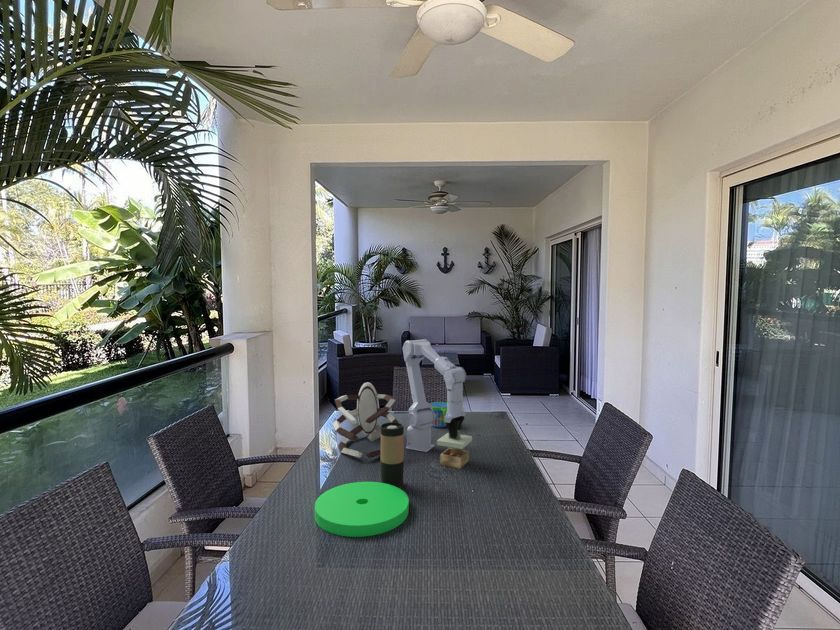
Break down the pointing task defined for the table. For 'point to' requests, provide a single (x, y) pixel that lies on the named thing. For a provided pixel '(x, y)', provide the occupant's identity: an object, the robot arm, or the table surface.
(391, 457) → the travel mug
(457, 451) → the box
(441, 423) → the snack cup
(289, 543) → the table surface
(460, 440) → the lid
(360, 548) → the table surface
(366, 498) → the disc
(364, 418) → the decorative sculpture
